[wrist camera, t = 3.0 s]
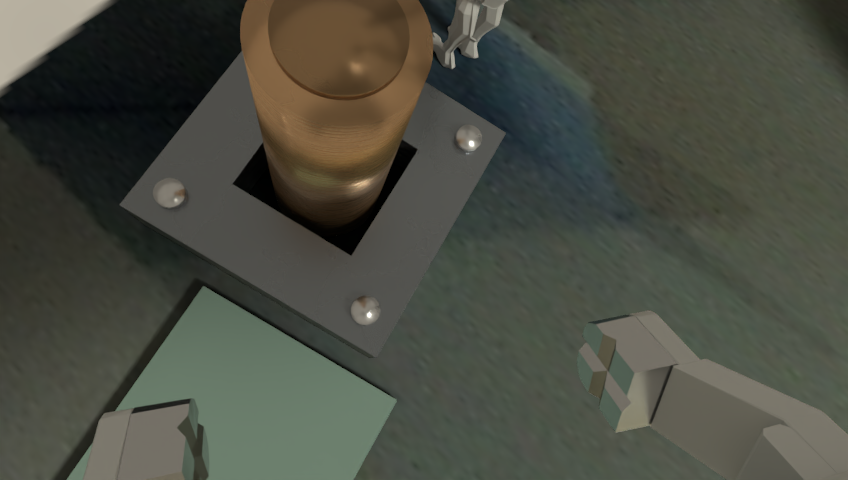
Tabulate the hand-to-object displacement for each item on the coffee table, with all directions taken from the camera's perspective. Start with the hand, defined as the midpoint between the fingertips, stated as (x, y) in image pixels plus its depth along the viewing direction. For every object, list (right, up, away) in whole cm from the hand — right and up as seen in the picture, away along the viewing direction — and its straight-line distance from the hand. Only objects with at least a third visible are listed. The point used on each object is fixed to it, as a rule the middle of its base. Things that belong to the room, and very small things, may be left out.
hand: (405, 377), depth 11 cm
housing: (-4, +5, +15) cm, 17 cm away
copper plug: (-4, +5, +15) cm, 17 cm away
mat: (-8, -6, +12) cm, 16 cm away
